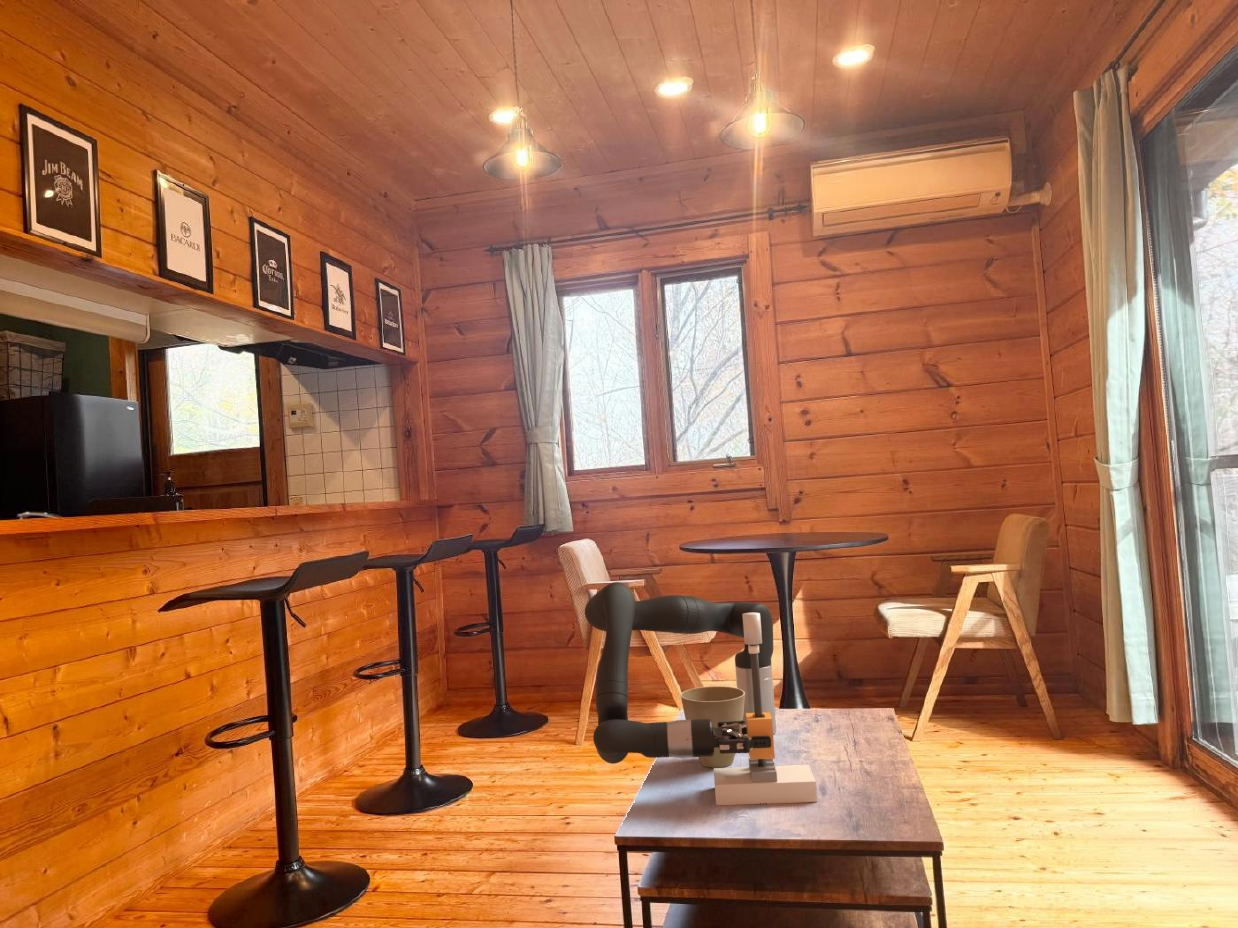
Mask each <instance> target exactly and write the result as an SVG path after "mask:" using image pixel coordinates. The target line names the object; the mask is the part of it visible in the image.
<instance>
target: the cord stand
mask: <svg viewBox="0 0 1238 928" xmlns="http://www.w3.org/2000/svg"><path fill="white" fill-rule="evenodd" d="M743 628H744V638H743V640H744V645H745V644H748V650H749V653H750V658H751V671H752V685H753V699H754V713H755V718H763V715H762V701H761V687H760V674H759V660H758V653H759V645H757V644H761V643H762V634H761V620H760V613H755V612H752V613H744V614H743ZM713 779H714V780H713V781H714V793H715V795H714V796H715V806H733V805H735V806H737V804H738V805H754V804H755V805H761V804H762V805H763V803H764V804H765V803H767V804H787V803H789V804H791V803H792V804H793V803H796V804H797V803H818V796H817V794H818V793H817V781H816V779H815V776H814V775H813V772H812V769H811V767H810V764H797V765H795V764H794V765H791V764H790V765H775V761H774V759H751V760H750V757H749V758H748V766H742V767H741V766H740V767H717V768H716V767H713ZM760 803H761V804H760Z"/></svg>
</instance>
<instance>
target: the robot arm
mask: <svg viewBox="0 0 1238 928" xmlns="http://www.w3.org/2000/svg"><path fill="white" fill-rule="evenodd" d="M752 612H755V613H760V620H761V634H762V643H761V644H757V645H759V653H758V660H759V674H760V687H761V701H762V713H763V712H770V714H771V717H772V726H773V735H775V734H776V733H777V720H776V708H775V707H776V706H775V696H774V683H773V682H774V680H773V668H772V667H773V666H772V656H773V653H774V623H773V615H772V612H771V610H770V609H769V607H768V606H767V605H765V604H763V603H759V602H751V601H728V602H716V601H715V602H714V601H710V600H706V599H704V598H701V597H695V596H691V595H679V594H678V595H677V594H670V595H661V596H656V597H652V598H648V599H642V600H636V599H635V595H634V594H633V590H631V589H630V588H629V587H628V586H627V585H626V584H624V583H623V582H619V581H616V582H615V581H614V582H611V583H607V584H606V585H605V586H603V587H602V588H601V589H600V590H599V591H597V592H596V593H595V594H594V595H593V596H592V597H590V598H589V600H588V602H587V603H586V605H585V607H584V615H585V618H586V620H587V622H588V623H589V625H590V626H592V627H593V628H595V629H597V630H599V631H603V632H605V638H604V644H603V649H602V651H601V655H600V658H599V662H598V666H597V671H596V676H595V679H596V680H595V707H596V708H595V709H596V713H597V726H596V728H595V729H594V731H593V735H592V738H593V744H594V746H595V748H596V752H597V754H598V755H599V757H600V758H601V760H603V761H604V762H605V763H609V764H612V765H613V764H619V763H621V762H622V761H623V760H625V758H627V756H628V754H639V755H642V756H643V757H645V758H649V759H652V758H653V759H654V758H676V759H689V758H690V759H693V758H699V757H713V756H714V748H715V747H717V748H719V749H720V753H722V754H725V753H736V754H749V752H750V750H752V748H770V747H771V737H770V736H752V737H751V736H747V724H746V713H754V699H753V685H752V671H751V658H750V653H749V650H748V644H745V643H744V648H743V650H742V651H738V652H737V653H736V654H735V655H734V665H735V666H734V667H735V679H736V688H738V689H741V690H743V691H744V692H745V702H744V713H743V720H742V721H729V722H718V723H717V725H718V726H717V727H716V728H713V726H712V720H711V719H691V720H686V719H677V720H672V721H659V722H641V721H637V720H636V721H635V720H630V719H629V717H628V707H629V683H628V682H629V679H628V678H629V677H628V676H629V675H628V674H629V657H630V647H631V640H632V633H633V631H644V632H645V631H646V632H647V631H648V632H656V633H657V632H659V633H671V634H681V635H682V634H683V635H695V634H696V635H697V634H701V633H706V632H716V633H717V632H718V633H723V634H726V635H731V636H735V637H739V638H743V639H744V628H743V614H744V613H752ZM734 728H735V729H734Z"/></svg>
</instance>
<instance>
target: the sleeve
mask: <svg viewBox="0 0 1238 928" xmlns="http://www.w3.org/2000/svg"><path fill="white" fill-rule="evenodd" d="M762 715H763V718H755V713H746V724H747V736H751V737H752V736H770V737H771V747H770V748H752V750H750V752H749V753H748V757H749V758H750V760H751V759H773V760H775V759H776V754H775V753H776V752H775V741H774V734H773V726H772V717H771V714H770V712H763V713H762Z"/></svg>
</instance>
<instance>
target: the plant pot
mask: <svg viewBox="0 0 1238 928" xmlns="http://www.w3.org/2000/svg"><path fill="white" fill-rule="evenodd" d="M680 699H681V703H682V709H683V715H684V718H685V719H684V720H691V719H711V720H712V726H713V728H716V727H717V726H718V725H717V723H718V722H729V721H742V720H743V713H744V702H745V692H744V691H743V690H741V689H738V688H737V687H733V686H725V685H724V686H722V685H721V686H719V685H717V686H716V685H715V686H714V685H713V686H699V687H694V688H690V689H686V690H684V691H682V692H681V694H680ZM734 729H735V728H734ZM736 754H737V753H725V754H722V753H720V749H719V748H717V747H715V748H714V756H713V757H698V760H699V762H700V764H701V765H702V766H705V767H708V768H726V767H729V766H731V765H732V764H733V763H734V760H735V756H736Z"/></svg>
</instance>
